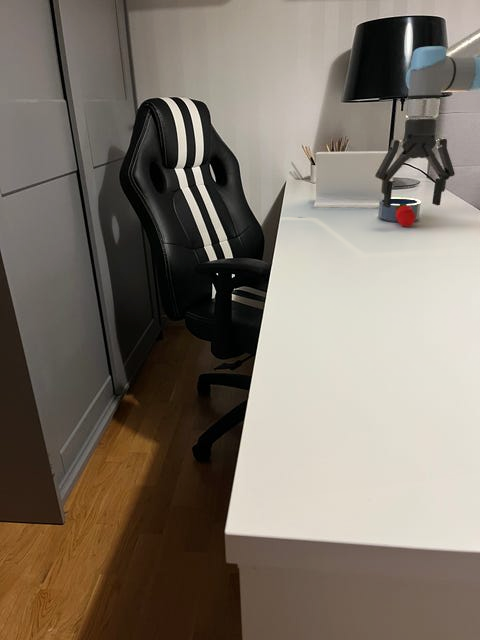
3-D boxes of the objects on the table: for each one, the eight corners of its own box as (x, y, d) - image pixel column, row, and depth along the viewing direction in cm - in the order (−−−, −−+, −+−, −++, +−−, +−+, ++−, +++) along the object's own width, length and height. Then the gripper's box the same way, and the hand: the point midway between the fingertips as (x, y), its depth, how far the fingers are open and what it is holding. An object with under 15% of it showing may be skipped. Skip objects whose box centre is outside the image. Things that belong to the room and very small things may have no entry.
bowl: (408, 214, 150) (409, 197, 148) (425, 221, 140) (427, 203, 138) (372, 216, 149) (373, 199, 147) (387, 224, 139) (388, 205, 137)
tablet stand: (392, 208, 159) (398, 151, 152) (313, 207, 164) (315, 152, 157) (388, 198, 175) (393, 147, 169) (316, 197, 180) (318, 148, 173)
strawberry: (415, 229, 135) (406, 211, 140) (420, 216, 132) (410, 198, 136) (398, 231, 135) (390, 213, 139) (403, 218, 131) (394, 200, 135)
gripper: (461, 116, 127) (449, 201, 136) (367, 119, 125) (360, 205, 133) (477, 117, 121) (463, 206, 129) (378, 119, 118) (370, 210, 126)
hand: (411, 205), depth 131 cm, fingers open, 13 cm apart
